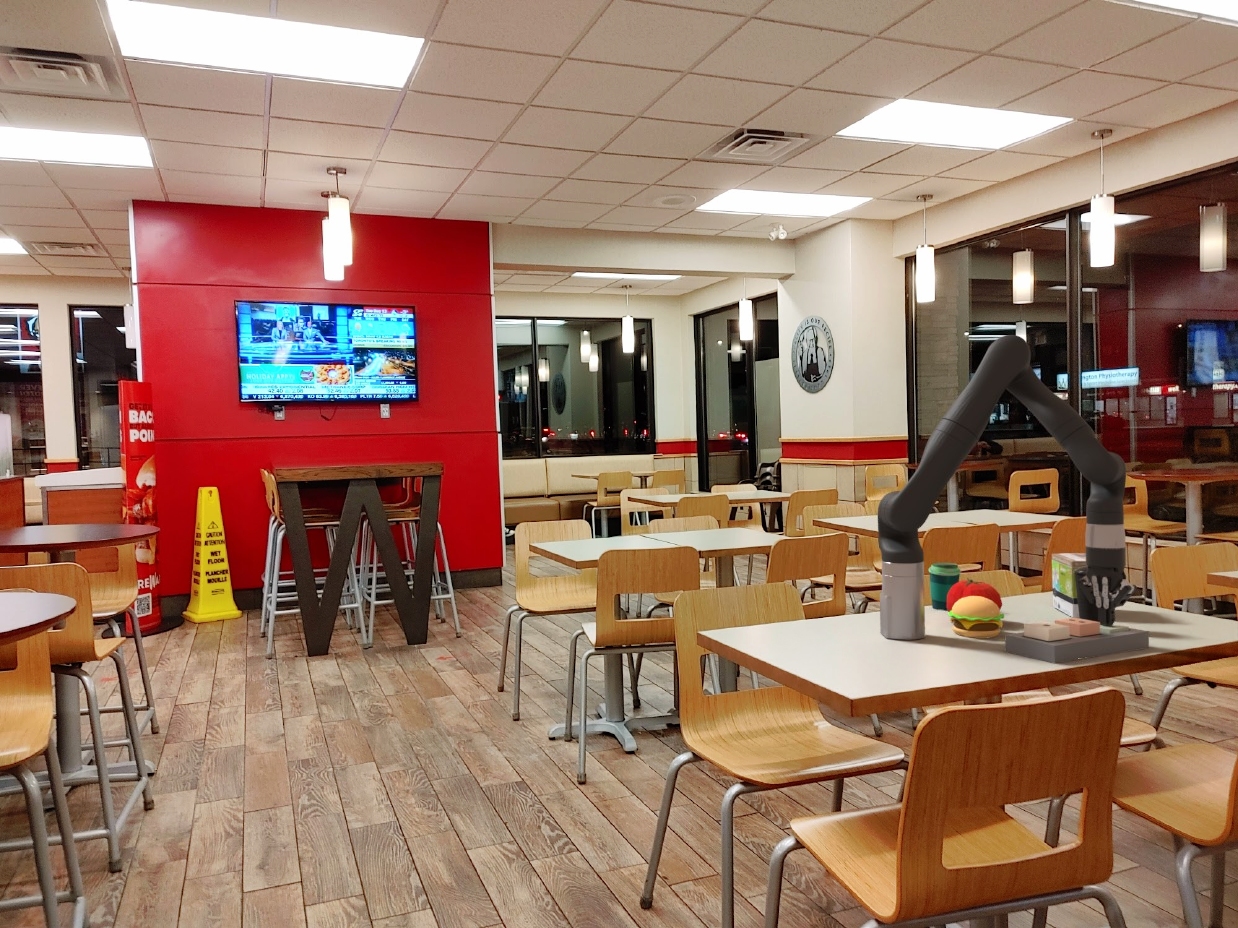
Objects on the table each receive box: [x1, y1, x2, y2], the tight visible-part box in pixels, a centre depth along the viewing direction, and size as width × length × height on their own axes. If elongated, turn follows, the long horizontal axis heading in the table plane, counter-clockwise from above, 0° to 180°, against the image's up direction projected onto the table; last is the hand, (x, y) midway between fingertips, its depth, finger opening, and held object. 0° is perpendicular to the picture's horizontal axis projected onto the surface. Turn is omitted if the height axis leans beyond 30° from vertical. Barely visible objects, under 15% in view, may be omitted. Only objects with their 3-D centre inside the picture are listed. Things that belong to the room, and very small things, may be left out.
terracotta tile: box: [1054, 617, 1100, 637], centre depth 185 cm, size 6×6×2 cm
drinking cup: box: [1073, 566, 1102, 622], centre depth 206 cm, size 8×8×20 cm
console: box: [1004, 627, 1150, 664], centre depth 185 cm, size 28×12×4 cm, turn 114°
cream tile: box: [1023, 621, 1070, 641], centre depth 182 cm, size 6×6×2 cm
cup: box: [928, 562, 962, 611], centre depth 235 cm, size 8×8×12 cm
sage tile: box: [1100, 623, 1130, 633], centre depth 189 cm, size 6×6×2 cm
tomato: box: [947, 577, 1003, 613], centre depth 216 cm, size 13×12×11 cm
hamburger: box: [947, 596, 1005, 639], centre depth 203 cm, size 12×12×9 cm
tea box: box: [1051, 552, 1087, 619], centre depth 225 cm, size 15×10×15 cm, turn 172°
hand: (1106, 625), depth 189 cm, fingers closed
